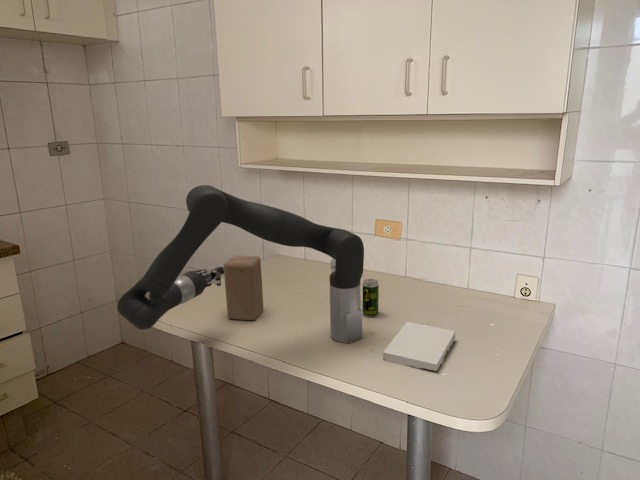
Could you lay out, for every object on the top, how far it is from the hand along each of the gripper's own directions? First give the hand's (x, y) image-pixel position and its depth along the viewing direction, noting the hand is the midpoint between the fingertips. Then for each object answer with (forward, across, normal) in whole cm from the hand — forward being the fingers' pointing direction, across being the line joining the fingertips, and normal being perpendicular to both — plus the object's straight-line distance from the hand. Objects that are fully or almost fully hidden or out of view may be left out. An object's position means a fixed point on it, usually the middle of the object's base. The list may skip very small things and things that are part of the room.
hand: (221, 269), depth 146 cm
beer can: (+28, -40, +20) cm, 52 cm away
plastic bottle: (+33, -26, +20) cm, 46 cm away
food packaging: (+11, -61, +20) cm, 65 cm away
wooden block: (+11, 0, +20) cm, 23 cm away
